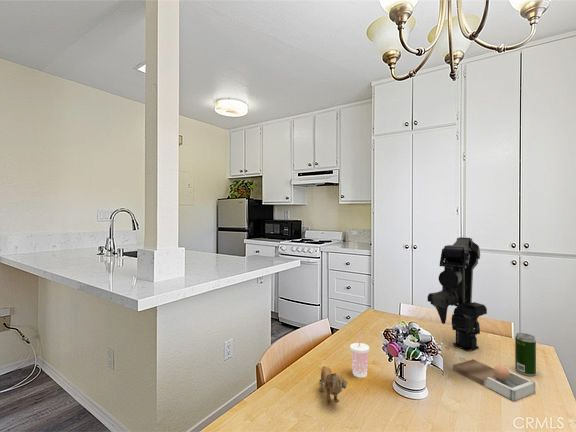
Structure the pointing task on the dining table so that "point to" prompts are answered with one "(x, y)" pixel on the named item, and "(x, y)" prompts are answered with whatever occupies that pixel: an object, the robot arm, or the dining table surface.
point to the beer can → (525, 354)
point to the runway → (476, 371)
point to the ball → (501, 372)
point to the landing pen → (512, 387)
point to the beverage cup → (359, 358)
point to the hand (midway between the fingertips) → (455, 328)
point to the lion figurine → (332, 384)
